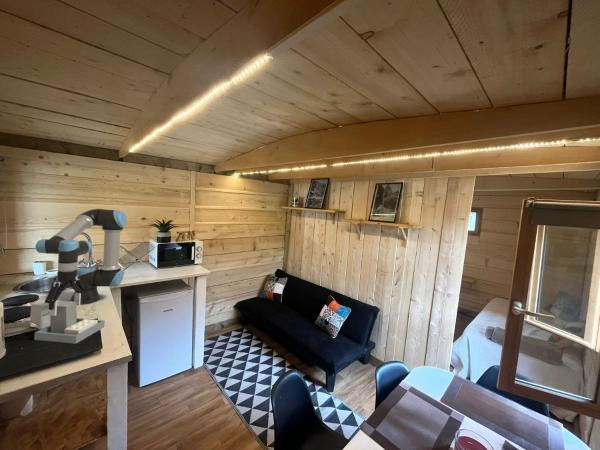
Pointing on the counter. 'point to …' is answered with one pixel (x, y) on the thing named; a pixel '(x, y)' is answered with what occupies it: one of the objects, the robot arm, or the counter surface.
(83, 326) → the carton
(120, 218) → the robot arm
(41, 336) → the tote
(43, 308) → the supplement box
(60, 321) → the skincare box
